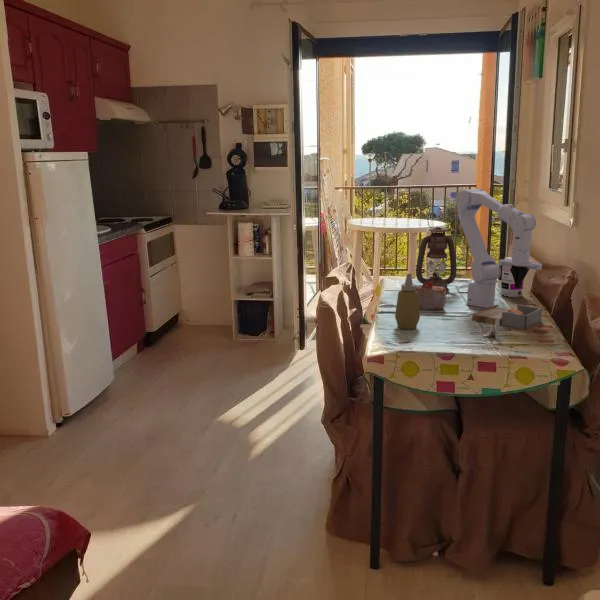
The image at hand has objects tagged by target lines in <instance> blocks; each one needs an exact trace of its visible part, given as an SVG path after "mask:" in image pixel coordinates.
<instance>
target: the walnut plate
mask: <svg viewBox="0 0 600 600" xmlns="http://www.w3.org/2000/svg"><path fill="white" fill-rule="evenodd" d="M509 309H510V308H509ZM509 309H508V308H503V307H498V306H494V307H492V306H491V307H488V308H483V309H482V310H479V311H477V312H475V313H472V314H471V321H474V320H476V322H480V321H482V322H481V323H485V322H487V324H491V323H492V324H491V325H495V320H496V317H497V318H499V319H500V324H499V326H502V325H501V320H502V312H508V310H509Z"/></svg>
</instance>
